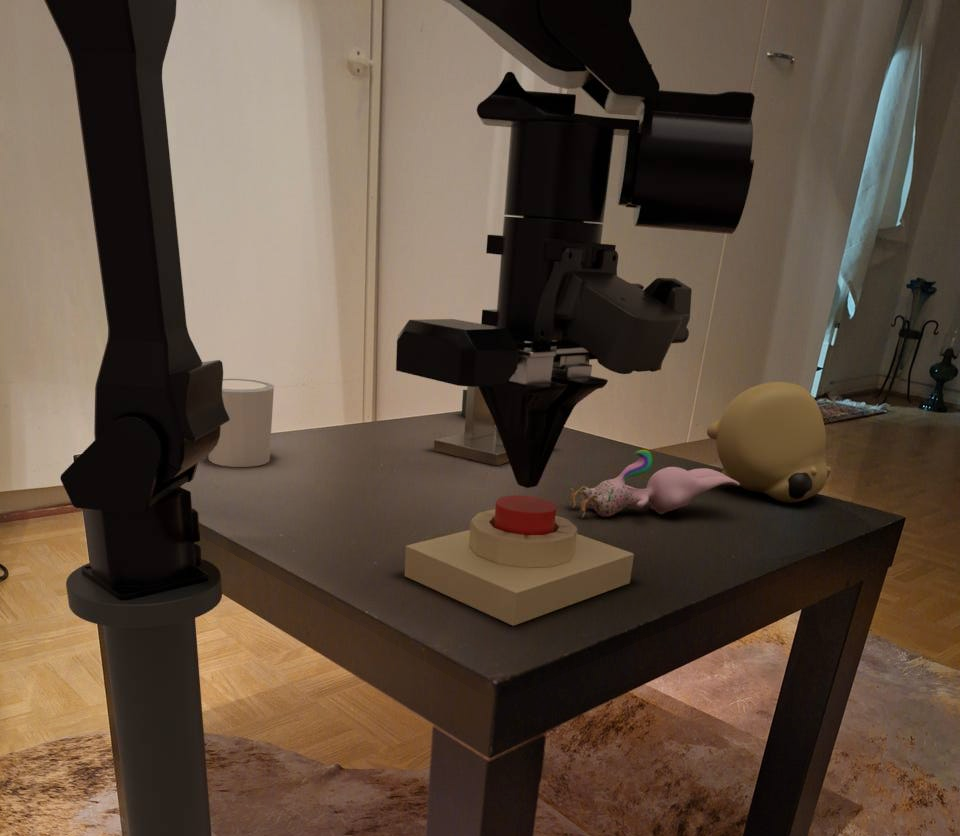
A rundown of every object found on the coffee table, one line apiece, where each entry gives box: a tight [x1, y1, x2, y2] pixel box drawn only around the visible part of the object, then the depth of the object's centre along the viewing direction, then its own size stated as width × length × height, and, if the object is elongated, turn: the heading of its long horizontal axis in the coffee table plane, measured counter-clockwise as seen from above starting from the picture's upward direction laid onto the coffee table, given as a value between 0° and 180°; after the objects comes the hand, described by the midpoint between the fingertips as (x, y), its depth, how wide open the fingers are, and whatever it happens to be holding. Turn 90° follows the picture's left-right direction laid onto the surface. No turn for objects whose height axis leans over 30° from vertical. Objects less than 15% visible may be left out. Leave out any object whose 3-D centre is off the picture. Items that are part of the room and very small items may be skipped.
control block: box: [404, 508, 635, 627], centre depth 58 cm, size 12×10×4 cm
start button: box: [494, 494, 557, 535], centre depth 57 cm, size 4×4×2 cm
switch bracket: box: [433, 386, 510, 467], centre depth 91 cm, size 11×8×11 cm
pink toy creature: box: [569, 449, 740, 519], centre depth 75 cm, size 6×6×15 cm
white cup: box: [207, 378, 275, 468], centre depth 81 cm, size 7×7×7 cm
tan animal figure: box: [706, 381, 832, 504], centre depth 84 cm, size 10×12×11 cm
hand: (527, 486), depth 56 cm, fingers closed
